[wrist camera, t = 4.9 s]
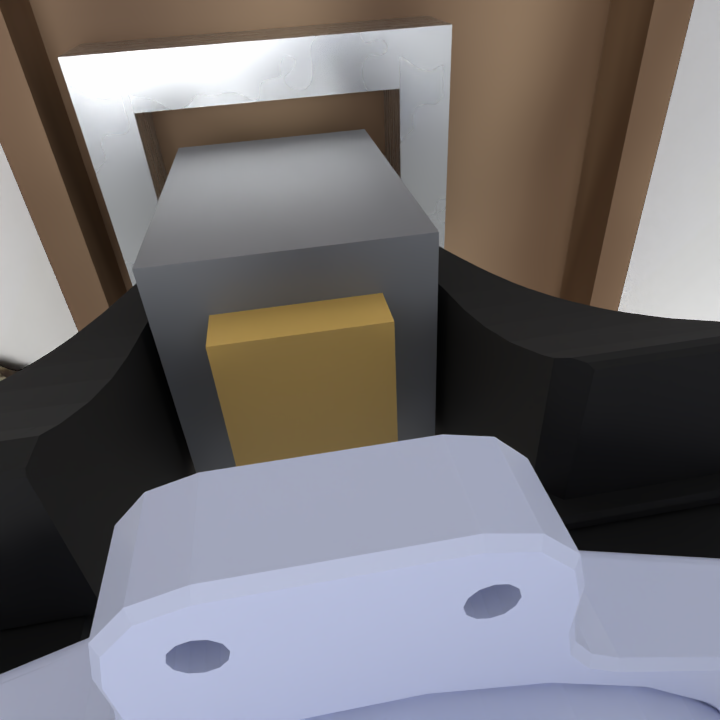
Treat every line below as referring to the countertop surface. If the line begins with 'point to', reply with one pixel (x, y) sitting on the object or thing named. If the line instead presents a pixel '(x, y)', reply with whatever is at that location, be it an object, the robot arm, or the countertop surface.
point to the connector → (292, 299)
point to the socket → (259, 99)
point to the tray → (366, 111)
